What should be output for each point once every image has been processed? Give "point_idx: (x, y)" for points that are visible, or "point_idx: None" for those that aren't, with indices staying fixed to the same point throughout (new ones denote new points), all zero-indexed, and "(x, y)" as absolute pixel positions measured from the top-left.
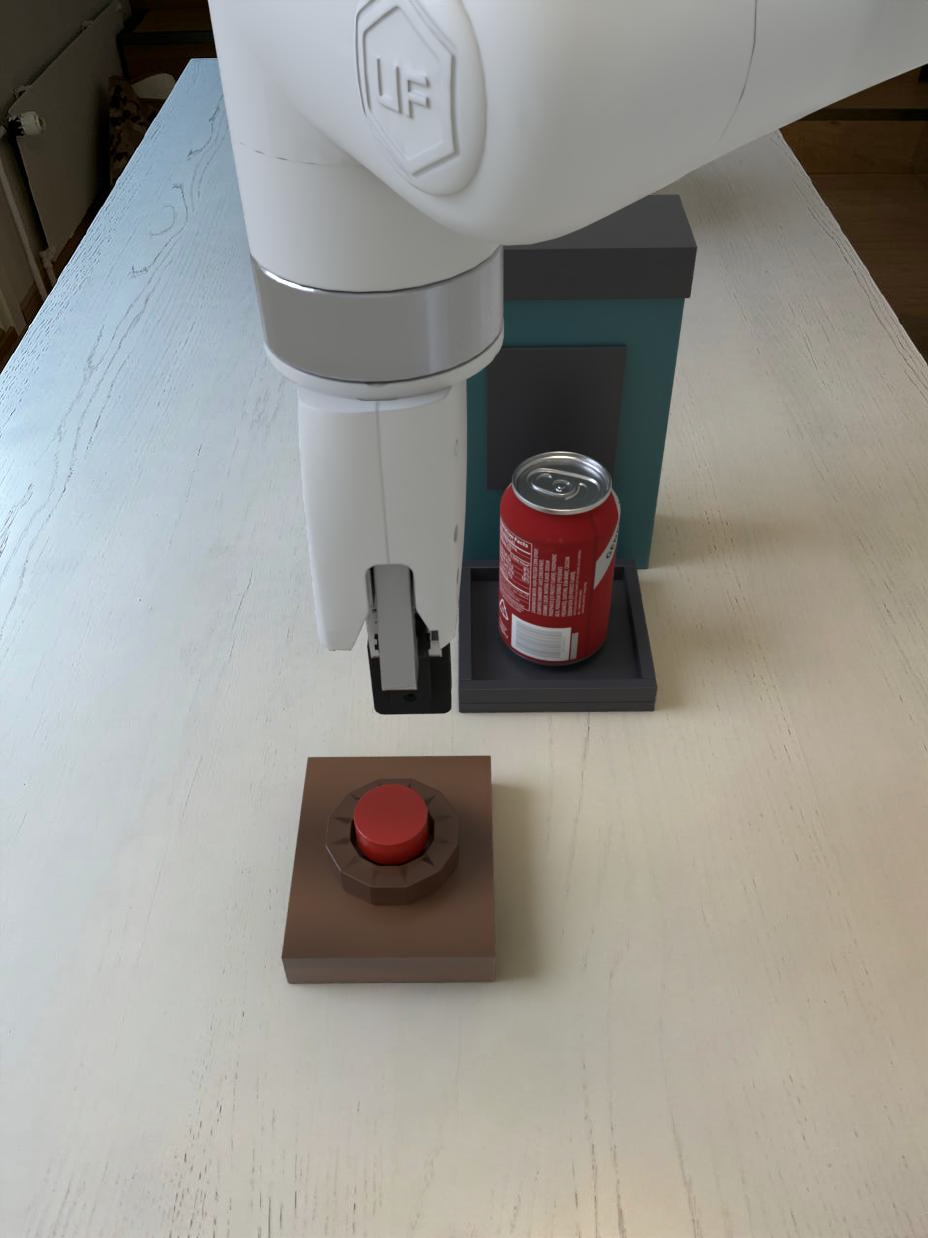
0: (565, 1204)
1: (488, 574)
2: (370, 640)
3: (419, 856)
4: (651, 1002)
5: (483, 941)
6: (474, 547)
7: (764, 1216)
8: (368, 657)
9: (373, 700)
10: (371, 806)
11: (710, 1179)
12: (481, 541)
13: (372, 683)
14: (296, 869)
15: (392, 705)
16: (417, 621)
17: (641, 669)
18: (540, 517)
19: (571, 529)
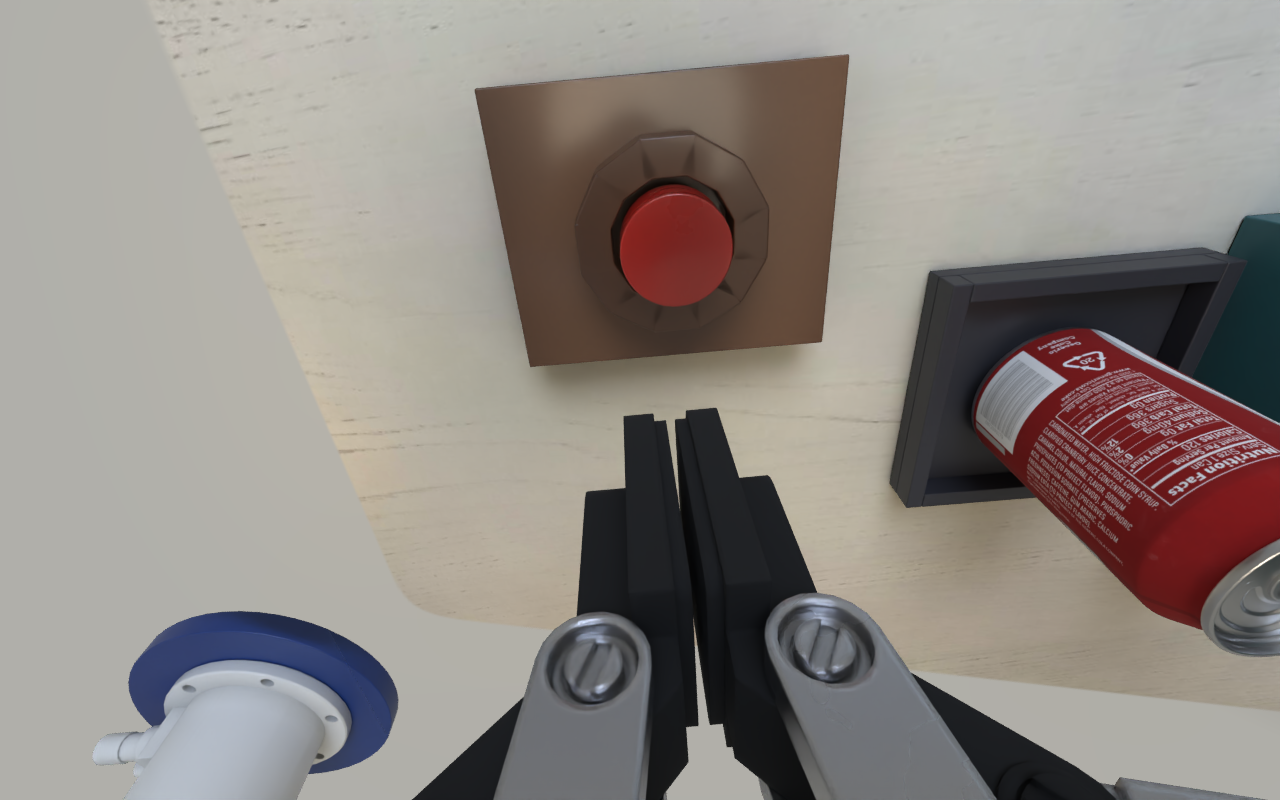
0: (341, 412)
1: (1193, 303)
2: (513, 752)
3: None
4: (541, 474)
5: (546, 353)
6: (1268, 283)
7: (384, 538)
8: (628, 551)
9: (624, 435)
10: (689, 220)
11: (399, 509)
12: (1275, 299)
13: (625, 477)
14: (624, 81)
15: (587, 498)
16: (730, 716)
17: (939, 493)
18: (1227, 550)
19: (1170, 581)
